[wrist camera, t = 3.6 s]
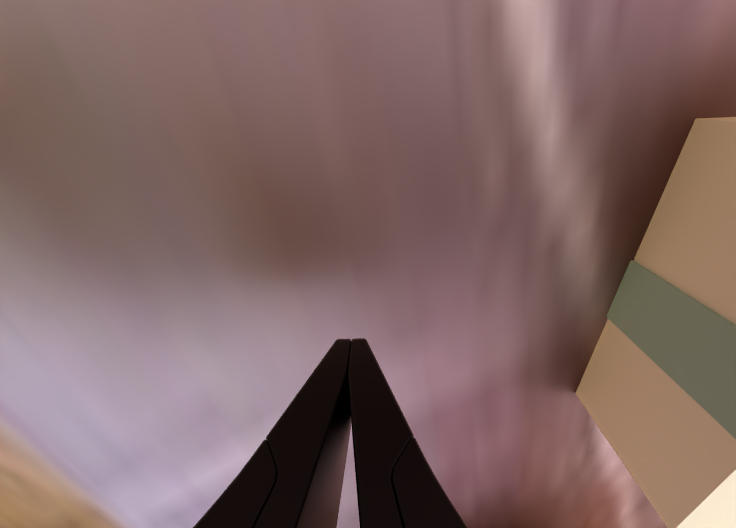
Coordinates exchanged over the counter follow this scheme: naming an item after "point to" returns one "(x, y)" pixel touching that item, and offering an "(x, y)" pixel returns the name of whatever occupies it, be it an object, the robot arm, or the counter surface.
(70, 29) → the counter surface
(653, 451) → the carton
